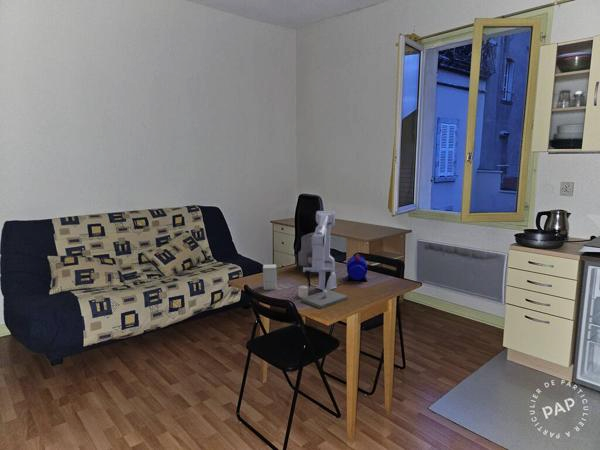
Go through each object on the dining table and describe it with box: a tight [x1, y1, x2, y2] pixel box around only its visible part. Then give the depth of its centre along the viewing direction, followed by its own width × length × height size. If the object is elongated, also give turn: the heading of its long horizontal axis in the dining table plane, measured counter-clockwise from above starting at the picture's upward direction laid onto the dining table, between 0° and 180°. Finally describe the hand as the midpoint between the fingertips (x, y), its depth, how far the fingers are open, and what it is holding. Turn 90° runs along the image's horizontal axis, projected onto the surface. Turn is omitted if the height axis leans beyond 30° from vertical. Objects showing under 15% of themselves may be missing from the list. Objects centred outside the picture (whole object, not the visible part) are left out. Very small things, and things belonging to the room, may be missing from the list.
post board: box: [300, 289, 349, 309], centre depth 213 cm, size 20×14×5 cm
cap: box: [298, 285, 309, 299], centre depth 219 cm, size 5×5×5 cm
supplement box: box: [262, 264, 278, 291], centre depth 233 cm, size 7×7×13 cm
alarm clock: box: [346, 253, 368, 282], centre depth 248 cm, size 12×12×15 cm
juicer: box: [294, 232, 332, 277], centre depth 267 cm, size 30×16×24 cm, turn 34°
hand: (317, 287), depth 201 cm, fingers open, 7 cm apart
